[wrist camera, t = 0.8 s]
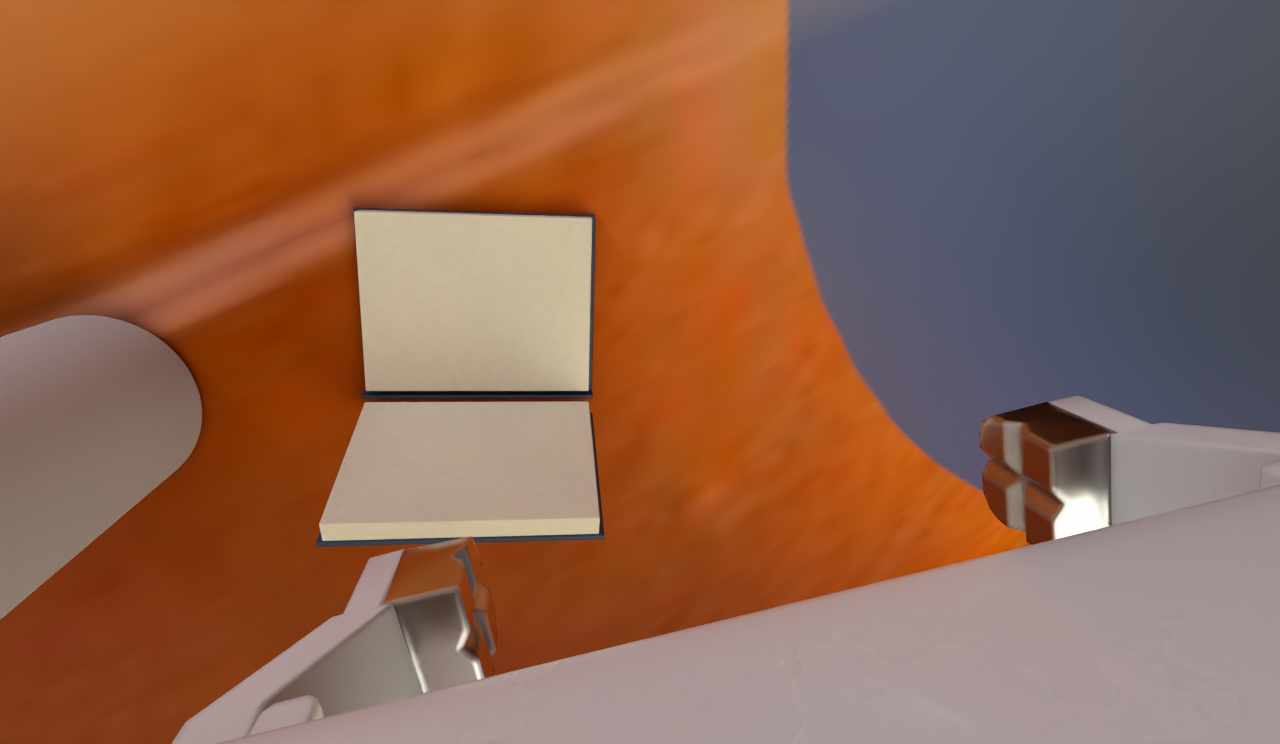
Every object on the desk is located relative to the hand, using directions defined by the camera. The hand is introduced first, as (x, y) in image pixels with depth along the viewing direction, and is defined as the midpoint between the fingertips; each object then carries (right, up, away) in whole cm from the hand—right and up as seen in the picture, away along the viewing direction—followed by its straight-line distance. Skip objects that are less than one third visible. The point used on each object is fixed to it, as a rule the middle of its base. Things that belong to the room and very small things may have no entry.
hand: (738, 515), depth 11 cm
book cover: (-12, -3, +35) cm, 37 cm away
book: (-13, +7, +40) cm, 43 cm away
